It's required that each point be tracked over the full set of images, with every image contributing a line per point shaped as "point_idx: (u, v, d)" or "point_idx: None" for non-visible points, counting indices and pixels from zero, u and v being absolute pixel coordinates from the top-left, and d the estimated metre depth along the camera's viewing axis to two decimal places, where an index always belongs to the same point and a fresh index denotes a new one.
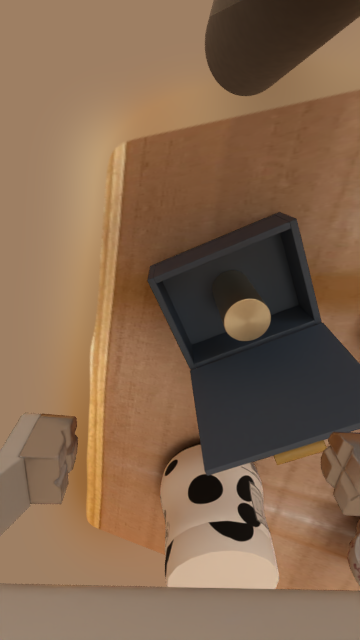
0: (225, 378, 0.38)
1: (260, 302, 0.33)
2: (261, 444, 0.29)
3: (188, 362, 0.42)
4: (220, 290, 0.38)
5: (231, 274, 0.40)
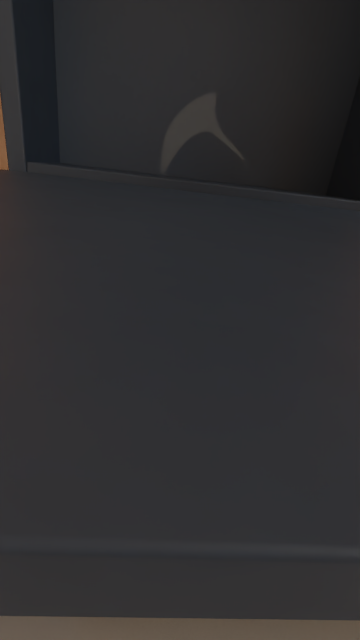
0: (81, 191, 0.11)
1: None
2: None
3: (9, 147, 0.14)
4: None
5: None
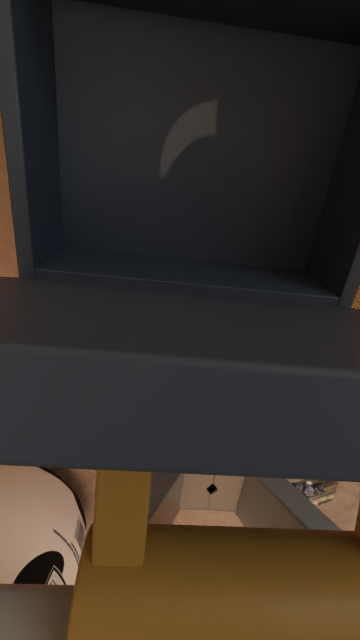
0: (84, 286, 0.12)
1: None
2: None
3: (20, 258, 0.16)
4: None
5: None
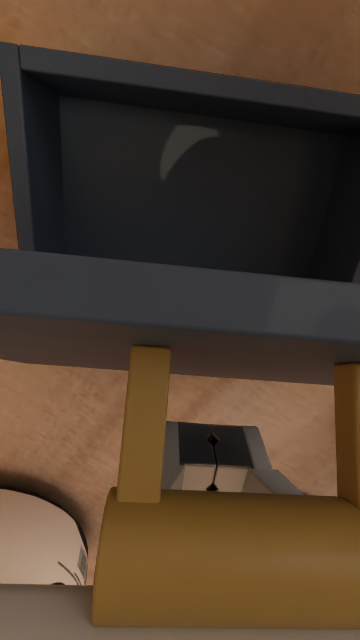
0: None
1: None
2: None
3: None
4: None
5: None
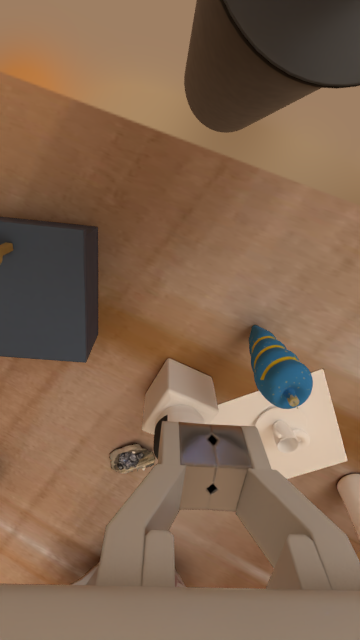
0: None
1: None
2: None
3: None
4: None
5: None
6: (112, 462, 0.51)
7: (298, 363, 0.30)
